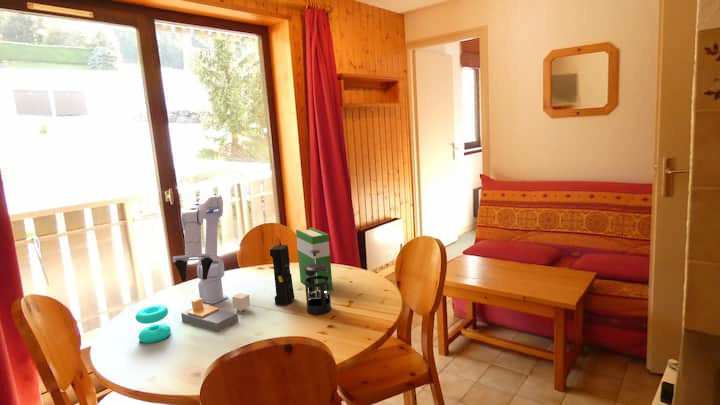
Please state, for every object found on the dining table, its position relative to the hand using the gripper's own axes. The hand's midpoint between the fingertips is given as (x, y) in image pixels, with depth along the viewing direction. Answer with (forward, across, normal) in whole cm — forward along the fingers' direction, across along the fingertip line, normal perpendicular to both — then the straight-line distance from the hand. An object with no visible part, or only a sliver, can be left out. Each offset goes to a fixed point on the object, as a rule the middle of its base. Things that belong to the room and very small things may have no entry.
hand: (194, 280), depth 154 cm
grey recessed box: (+15, +3, +5) cm, 16 cm away
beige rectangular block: (+13, +13, +13) cm, 22 cm away
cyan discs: (+18, -12, -5) cm, 22 cm away
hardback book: (+7, +39, +34) cm, 53 cm away
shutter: (+12, +1, +6) cm, 13 cm away
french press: (+15, +43, +9) cm, 46 cm away
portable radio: (+12, +28, +18) cm, 36 cm away
